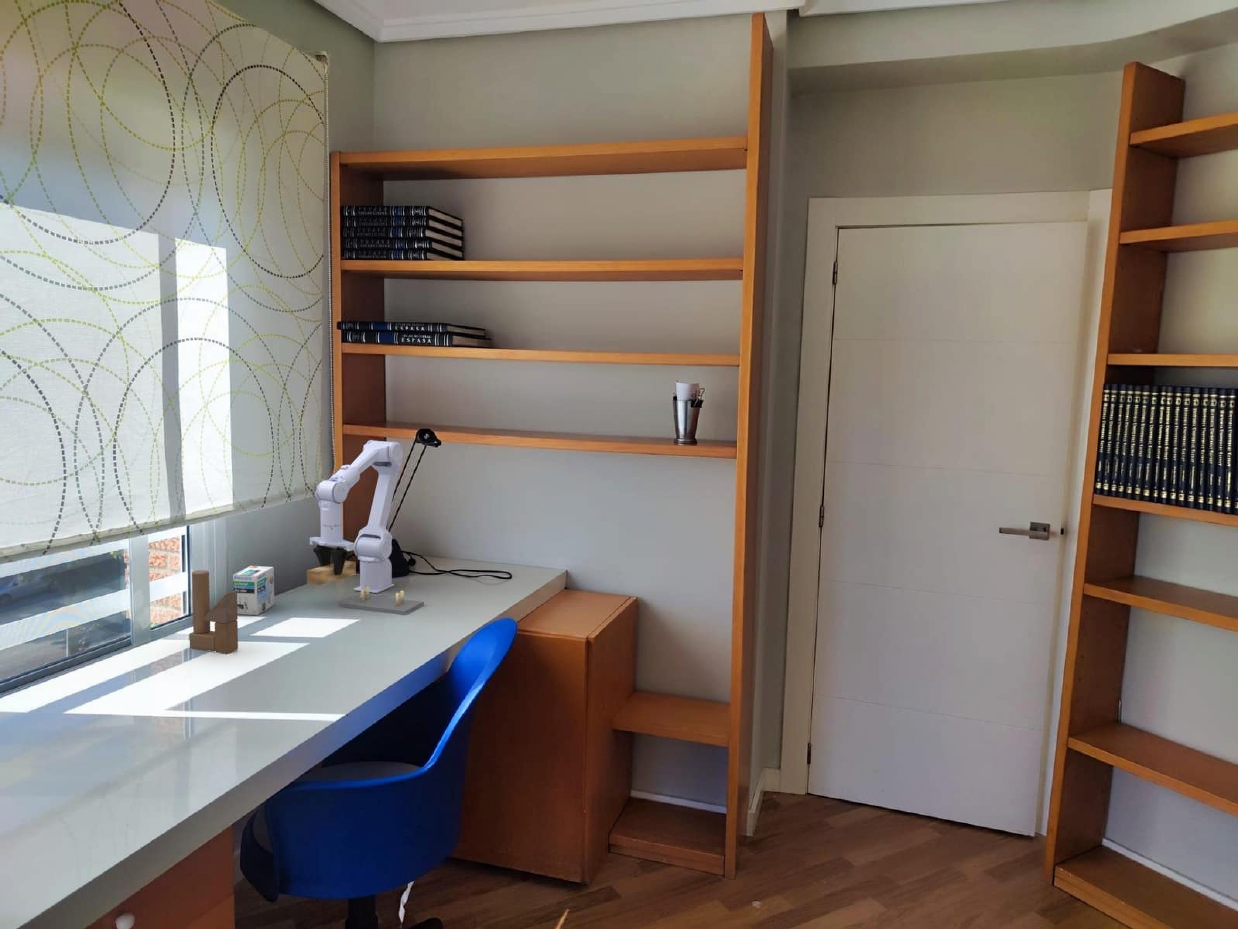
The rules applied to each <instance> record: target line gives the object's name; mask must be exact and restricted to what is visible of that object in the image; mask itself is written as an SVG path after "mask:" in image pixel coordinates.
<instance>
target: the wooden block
mask: <svg viewBox="0 0 1238 929" xmlns="http://www.w3.org/2000/svg"><path fill="white" fill-rule="evenodd" d="M191 586H192V587H191V588H192V590H191V591H192V592H191V594H192V596H191V597H192V599H191V600H192V623H193V624H192V627H193V631H192V632H190V633H189V648H190V649H195V648H196V650H202V651H207V650H210V651H209V652H213V651H216V653H218V652H220V653H219V654H224V653H225V654H226V655H228V654H231V653H233V652H235V651H234V650H236V651H238V650H239V635H238V633H239V632H238V629H239V628H238V627H239V625H238V624H239V623H238V618H239V617H238V615H239V614H237V590H236V591H233V590H232V591H229V592H227V593H224V595H223V596H222V597H221V598H220V599H219V600H218V601H217V603H216V604H215V605H213V607H212V608H211V598H210V597H211V596H210V594H211V593H210V592H211V590H210V572H209V570H206V569H199V570H194V571H192V572H191ZM211 622H212V623H214V630H211ZM237 649H238V650H237ZM230 652H231V653H230ZM225 654H224V655H225Z"/></svg>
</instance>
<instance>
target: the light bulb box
mask: <svg viewBox="0 0 1238 929" xmlns="http://www.w3.org/2000/svg"><path fill="white" fill-rule="evenodd" d="M274 572H275V567H274V566H260V565H249V566H248V567H246V568H243V569H242V570H240V571H239V572H236V573H234V574H232V589H233V590H232V592H233V591H236V590H237V615H243V616H244V615H247V616H248V615H249V616H259V615H260V614H262V613H264V612H265V611H267V610H268V609H270V608H272V607H273V606H275V573H274Z"/></svg>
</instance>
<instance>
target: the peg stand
mask: <svg viewBox="0 0 1238 929" xmlns="http://www.w3.org/2000/svg"><path fill="white" fill-rule="evenodd" d="M422 605H423V606H424V605H425V602H424V601H422V600H413V599H412V600H411V599H406V598H405V590H400V592H395V597H389V596H380V595H375V594H373V595H372V594H370V592H369V586H366V592H364V588H362V589H361V591H360V594H358V595H356V596H354V597H351V598H348V599H346V600H343V601H342V602H340V604H339V606H341V608H350V609H355V610H356V609H357V610H363V609H364V610H365V611H371V610H372V611H374V612H380V613H386V614H387V613H390V614H394V613H396V614H395V615H402V614H403V615H404V616H406V615H407V613H408V614H410V613H411V612H413V611H415V610H417V609H419V608H421V607H423V606H422ZM420 606H421V607H420ZM403 615H402V616H403Z"/></svg>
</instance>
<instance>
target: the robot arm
mask: <svg viewBox="0 0 1238 929" xmlns="http://www.w3.org/2000/svg"><path fill="white" fill-rule="evenodd" d="M403 457H404V451H403V448H402V445H401V443H400V442H398V441H379V440H375V439H370V440H368V441H367V442H366V444H363V448H362V452H361V453H360V454H358V456H357V458H355V460H354V461H352V463H351V464H345V465H341V466H340V469H339V470H338V471H336V473H334V474H333V475H331V477H330V478H329V479H328V480H322V481H321V482H320V483H318V484H317V486H316V491H315V492H314V494H315V498H316V500H317V501H318V502H317V503H318V505H317V506H318V508H319V509H320V510H319V511H320V536H312V537H309V545H310V546H311V545H312V546H314V545H316V547H313V549H312V550H313V553H314V554H315V556H316V557H317V560H318V562H319V565H320V566H319V567H322V566H326V565H330V564H331V558H332V561H333V562H332V564H333V563H334V574H335V575H340V574H342V571H343V567H344V564H345V561H347V558H348V556H349V555H350V553H351V552H352V551H353V553H354V554H355V556H356V557H357V560H359V586H356V587H354V588H353V590H354V591H357V592H361V589H362V588H364V593H366V586H369V593H373V594H378V593H381V592H383V591H385V590H387V589H390V588H392V587H393V586H395V584H394V583H392V582H393V581H392V577H393V576H392V574H393V572H392V571H393V570H392V562H391V560H390V559H389V557H390V556H391V554H392V551H393V546H392V544H393V543H392V540H393V535H392V534H391V532H389V530H388V529H387V525H388V520H389V516H390V515H389V514H390V512H391V507H392V501H393V498H394V494H395V488H396V484H397V481H398V480H397V479H398V477H399V476H398V475H399V472H400V471H401V466H402V464H403V463H402V462H403ZM369 467H372V468H373V469H374V470H375V471H377V473H378V478H377V483H376V487H375V491H374V496H373V499H372V500H373V501H372V505H371V509H370V513H369V518H368V522H367V525H366V526H365V527H363V528H361V529H360V530H359V531H358V534H357V535H358V536H357V537H356V539H355V541H354V542H351V541H348V540H345V539H344V528H343V527H344V524H343V522H344V520H343V518H344V516H343V514H344V513H343V512H344V511H343V509H344V508H343V502H344V501H346V499H347V498H348V493H349V492H350V489H352V487H353V486H354V485H356V483H358V481H360V477H361V475H360V474H362V473H363V472H364V471H365V470H367V469H368V468H369Z"/></svg>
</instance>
